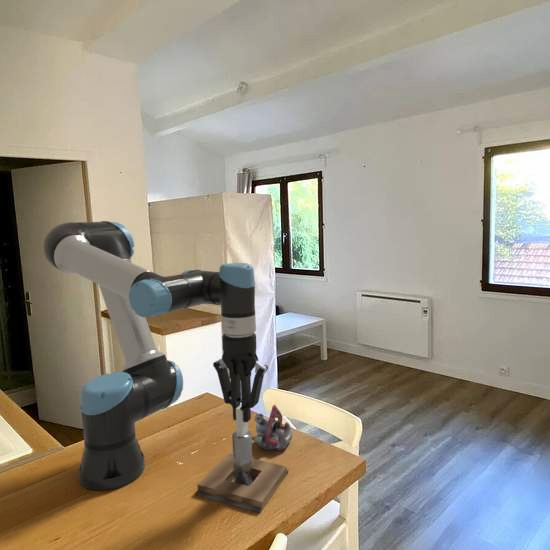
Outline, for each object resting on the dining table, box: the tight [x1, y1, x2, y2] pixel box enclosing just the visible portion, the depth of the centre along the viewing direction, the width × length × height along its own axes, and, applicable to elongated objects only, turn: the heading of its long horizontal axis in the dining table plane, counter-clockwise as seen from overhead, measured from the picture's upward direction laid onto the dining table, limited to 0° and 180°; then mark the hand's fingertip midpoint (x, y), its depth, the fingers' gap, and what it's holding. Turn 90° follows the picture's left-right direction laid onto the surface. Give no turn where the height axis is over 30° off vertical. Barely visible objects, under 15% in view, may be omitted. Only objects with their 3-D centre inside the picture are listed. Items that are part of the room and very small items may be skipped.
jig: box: [195, 452, 289, 514], centre depth 100 cm, size 16×16×2 cm
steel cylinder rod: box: [231, 430, 254, 486], centre depth 100 cm, size 4×4×12 cm
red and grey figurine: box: [252, 404, 293, 451], centre depth 118 cm, size 11×11×12 cm
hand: (242, 433), depth 99 cm, fingers closed
